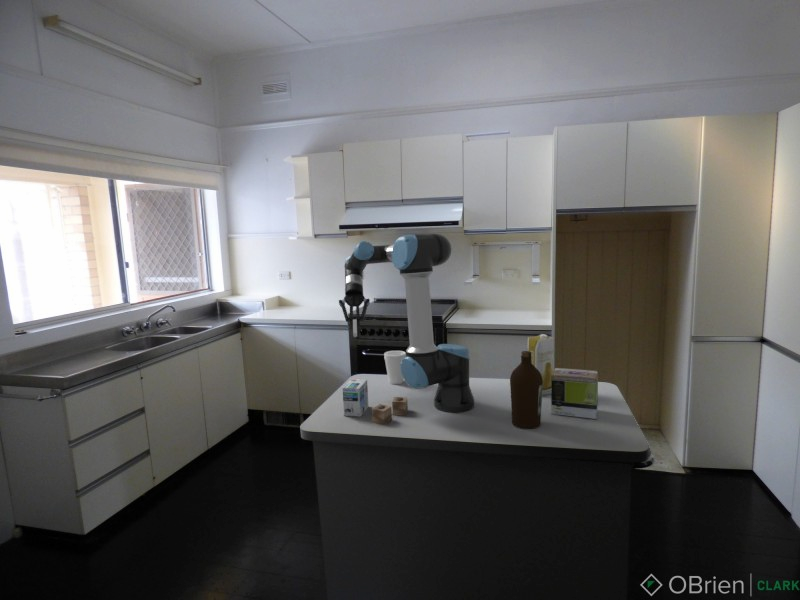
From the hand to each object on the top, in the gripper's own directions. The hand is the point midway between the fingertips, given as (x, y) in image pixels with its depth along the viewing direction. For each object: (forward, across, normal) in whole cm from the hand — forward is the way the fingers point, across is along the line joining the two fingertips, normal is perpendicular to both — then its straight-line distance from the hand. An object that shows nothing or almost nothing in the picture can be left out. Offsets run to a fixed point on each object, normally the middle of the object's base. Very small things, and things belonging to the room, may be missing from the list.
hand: (355, 334), depth 189 cm
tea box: (+38, -77, 0) cm, 86 cm away
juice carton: (+23, -72, -14) cm, 77 cm away
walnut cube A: (+31, -16, -6) cm, 35 cm away
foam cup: (+6, -16, -31) cm, 36 cm away
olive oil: (+43, -57, +6) cm, 72 cm away
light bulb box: (+28, 0, -9) cm, 30 cm away
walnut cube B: (+36, -9, -2) cm, 37 cm away
